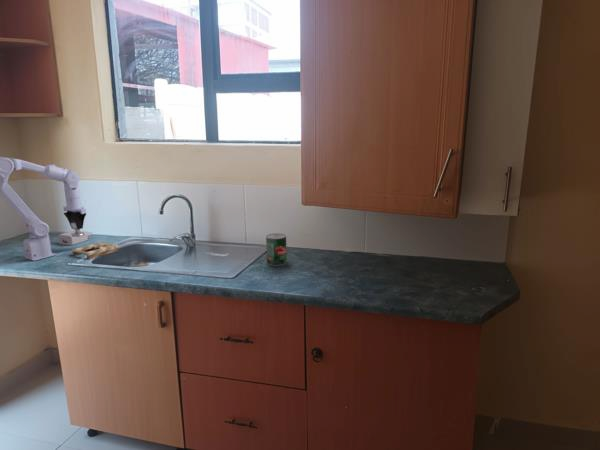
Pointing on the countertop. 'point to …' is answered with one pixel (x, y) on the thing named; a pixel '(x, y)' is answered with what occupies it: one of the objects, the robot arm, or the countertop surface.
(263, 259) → the countertop surface
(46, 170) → the robot arm
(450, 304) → the countertop surface
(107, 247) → the keyhole plate
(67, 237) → the charger
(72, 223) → the peg
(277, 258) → the canned tomato
